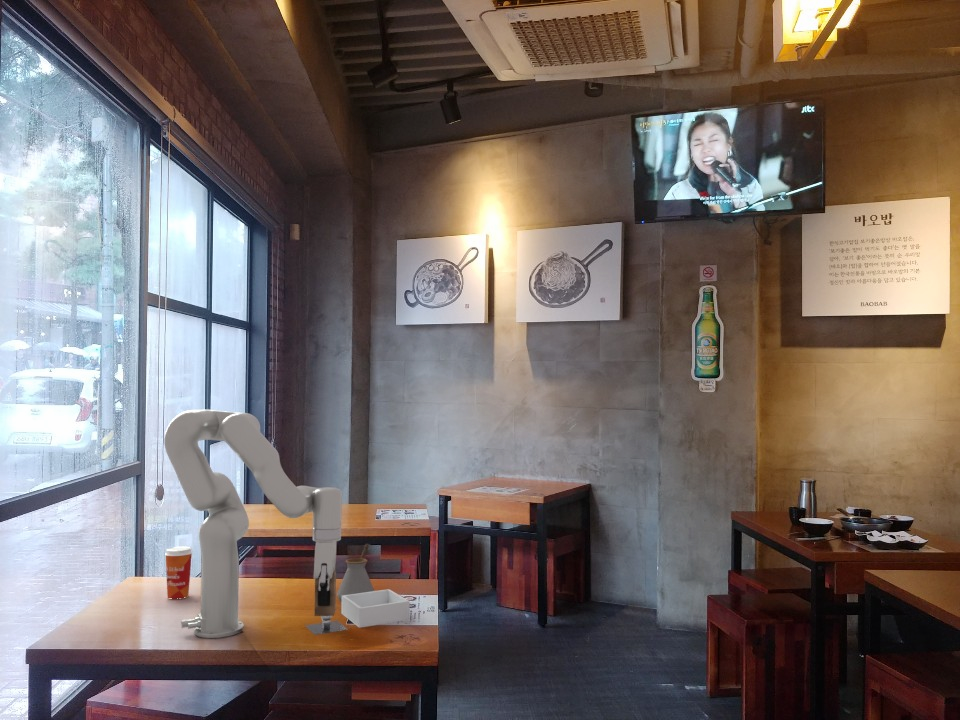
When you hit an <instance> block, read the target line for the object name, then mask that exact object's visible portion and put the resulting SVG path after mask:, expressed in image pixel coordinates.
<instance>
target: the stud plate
mask: <svg viewBox="0 0 960 720" xmlns="http://www.w3.org/2000/svg"><path fill="white" fill-rule="evenodd" d="M320 618H321V620H322V622H319V623H312V624H306V625H305V624H304V626H305V627H306V628H307V630H309V631H310V633H312V634H313V635H314V636H317V635H325V634H330V633H335V632H336V633H337V632H344V631H348V627H345V625H344V624H343V623H341V622H340V621H338V620H332V618H333V616H320ZM331 620H332V621H331Z"/></svg>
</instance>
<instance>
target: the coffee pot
mask: <svg viewBox="0 0 960 720" xmlns="http://www.w3.org/2000/svg"><path fill="white" fill-rule="evenodd" d="M369 546H370V547H369ZM368 547H369V548H368ZM371 547H372V546H371V544H369V543H365V544H364V545H363V550H362V551H361V556H360V557H353V558H348V559H346V560H345V563H346V565H347V569H346V571H345V573H344V575H343V577H342V581H341V583H340V585H339V587H338V590H337V591H336V596H337V597H336V598H337V599H338V600H339V601H340V602H341V598H342V596H343V595H350V594H357V593H365V592H372V591H375V588H374V587H373V583H372V582H371V580H370V577H369V574H368V571H367V569H366V564H367V563H368V562H369V561H368V559H366V558H365V557H366V554H367V550H370V549H371Z"/></svg>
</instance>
